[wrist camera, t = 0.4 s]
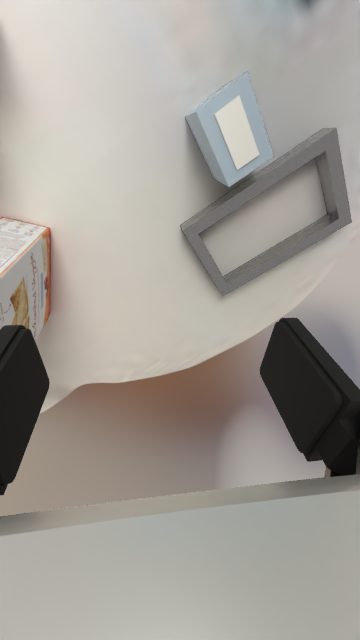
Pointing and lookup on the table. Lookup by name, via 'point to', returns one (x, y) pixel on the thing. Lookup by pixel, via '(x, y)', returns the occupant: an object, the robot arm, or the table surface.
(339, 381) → the robot arm
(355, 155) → the table surface
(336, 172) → the grey rectangular frame
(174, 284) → the table surface
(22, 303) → the cracker box
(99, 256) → the table surface
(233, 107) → the module
